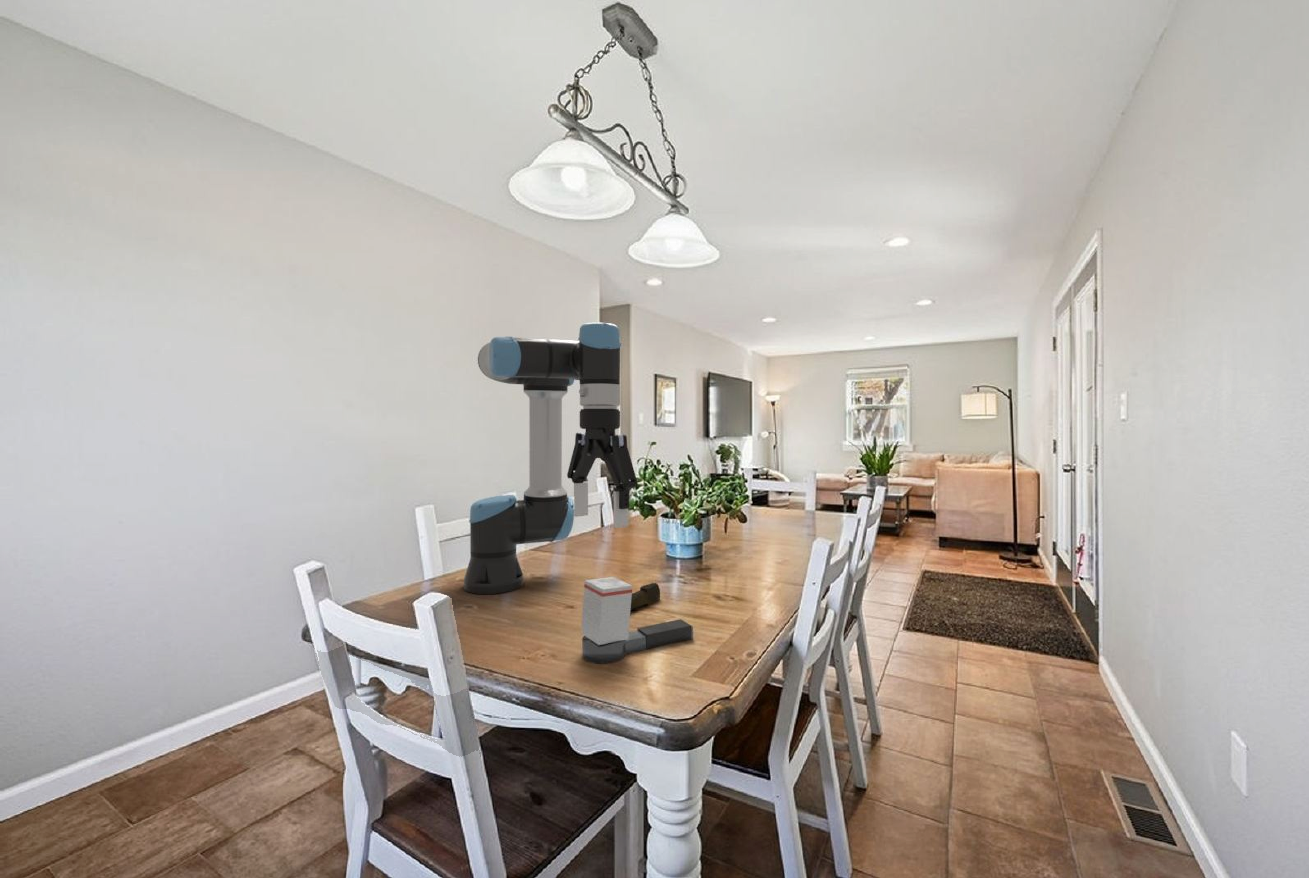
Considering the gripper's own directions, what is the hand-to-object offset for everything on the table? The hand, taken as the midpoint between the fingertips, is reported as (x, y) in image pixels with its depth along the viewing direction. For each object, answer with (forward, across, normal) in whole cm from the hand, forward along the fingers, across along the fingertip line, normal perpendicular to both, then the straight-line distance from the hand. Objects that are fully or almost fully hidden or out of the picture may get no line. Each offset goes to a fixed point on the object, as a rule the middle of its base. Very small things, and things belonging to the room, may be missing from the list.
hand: (600, 521), depth 104 cm
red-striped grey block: (+21, +2, 0) cm, 21 cm away
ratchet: (+25, +3, +7) cm, 26 cm away
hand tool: (+25, -15, +18) cm, 35 cm away
